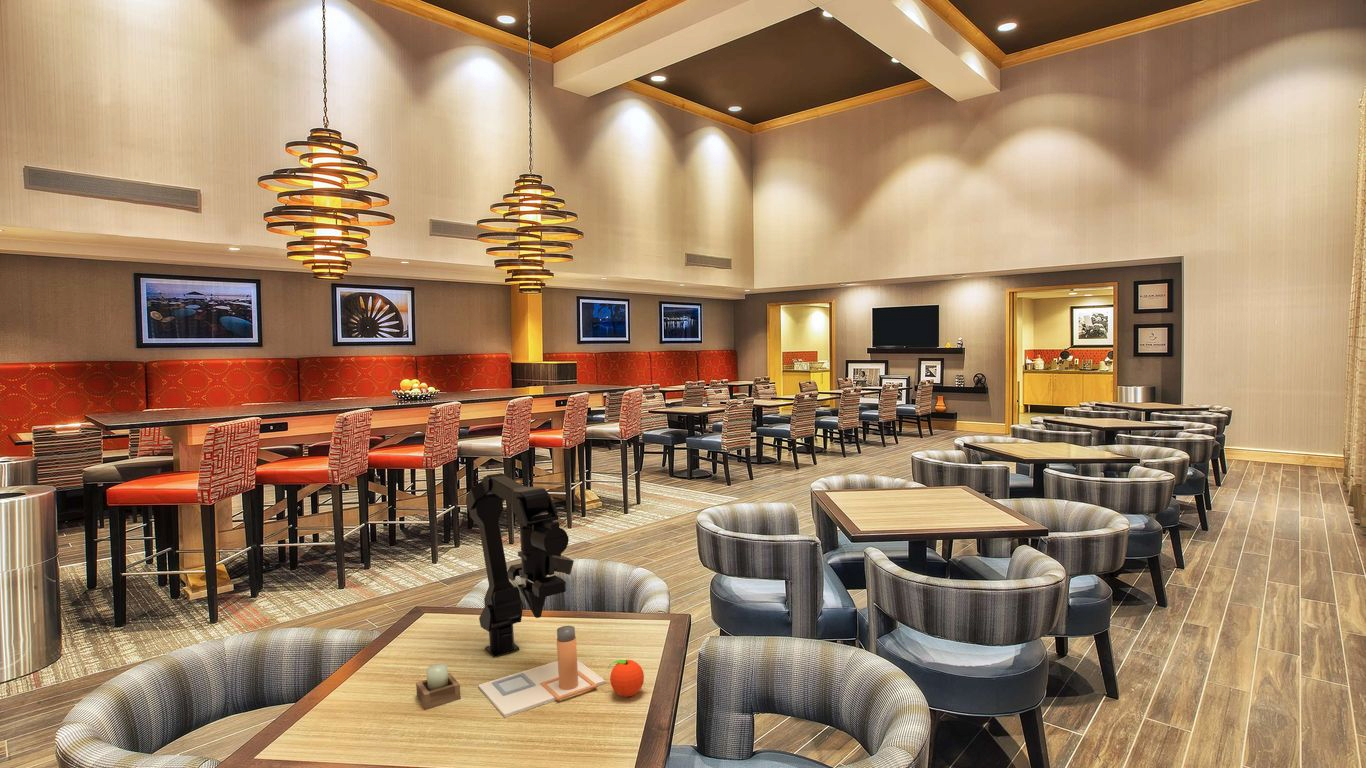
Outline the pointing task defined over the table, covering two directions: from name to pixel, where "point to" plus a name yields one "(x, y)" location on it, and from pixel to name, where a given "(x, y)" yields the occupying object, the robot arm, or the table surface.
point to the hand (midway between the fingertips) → (537, 617)
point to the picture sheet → (535, 688)
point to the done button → (437, 676)
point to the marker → (567, 658)
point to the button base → (438, 693)
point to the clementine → (626, 677)
